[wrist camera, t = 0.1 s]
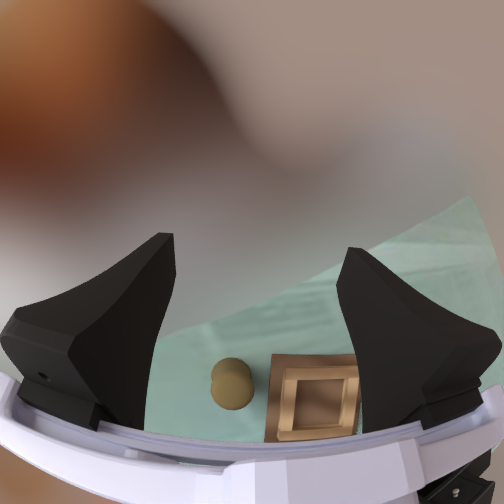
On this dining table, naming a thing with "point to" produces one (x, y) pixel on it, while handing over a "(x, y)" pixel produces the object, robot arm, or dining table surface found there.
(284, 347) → the dining table surface
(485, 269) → the dining table surface
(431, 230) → the dining table surface
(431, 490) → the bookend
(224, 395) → the cork
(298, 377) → the socket block
